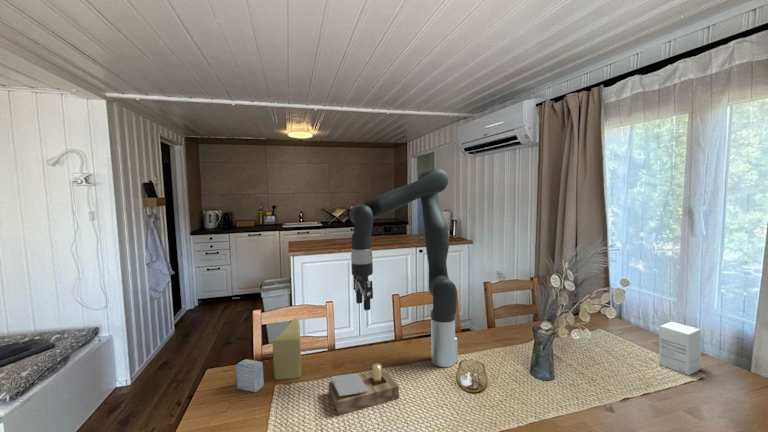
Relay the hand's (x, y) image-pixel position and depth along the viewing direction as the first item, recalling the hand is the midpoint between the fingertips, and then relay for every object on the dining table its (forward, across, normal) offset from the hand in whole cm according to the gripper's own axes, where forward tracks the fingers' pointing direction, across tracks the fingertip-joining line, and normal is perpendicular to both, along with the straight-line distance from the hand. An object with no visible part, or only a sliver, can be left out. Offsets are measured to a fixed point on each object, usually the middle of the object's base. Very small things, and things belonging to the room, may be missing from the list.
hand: (363, 306), depth 113 cm
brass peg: (+26, -10, -1) cm, 28 cm away
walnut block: (+26, -10, +4) cm, 28 cm away
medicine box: (+26, +11, +38) cm, 48 cm away
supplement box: (+26, -42, -108) cm, 119 cm away
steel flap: (+21, -10, +9) cm, 25 cm away
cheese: (+26, +21, +23) cm, 41 cm away
